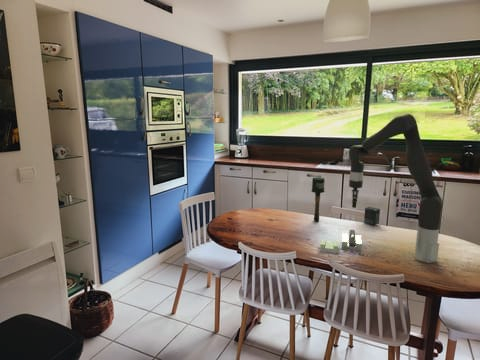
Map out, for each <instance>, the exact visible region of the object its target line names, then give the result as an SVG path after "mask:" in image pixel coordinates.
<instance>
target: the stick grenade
mask: <svg viewBox="0 0 480 360" xmlns="http://www.w3.org/2000/svg"><path fill="white" fill-rule="evenodd" d="M310 191H311V193H315V194H314V196H315V198H314V200H315V201H314V203H315V204H314V214H313V216H314V217H313V222H317V223H318V222H320V202H321V201H320V200H321V194H323V193H325V178H324V177H319V176H315V177H312V180H311V190H310Z"/></svg>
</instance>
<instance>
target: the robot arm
mask: <svg viewBox="0 0 480 360" xmlns="http://www.w3.org/2000/svg"><path fill="white" fill-rule="evenodd" d="M399 135H403V137H404V140H405V145H406V147H405V162H406V166H407V168H408V171H409V174H410V176H411V178H412V179H413V182H415V184H416V186H417V188H418V192H419V194H420V199H421V201H420V203H419V208H418V219H417V220H418V221H417V222H418V224H417V229H416V230H417V231H416V238H415V239H416V241H415V249H414V256H413V257H414V259H415V260H417V261H419V262H422V263H427V264H433V263H436V262H437V261H438V256H439V249H440V248H439V247H440V243H439V242H438V241H439V233H440V226H441V217H442V210H443V205H444V203H443V200H442V197H441V195H440V193H439V191H438V189H437V187H436V184H435V182H434V181H435V180H434V178H433V177H434V176H433V173H432V169H431V166H430V162H429V160H428V157H427V155H426V152H425V150H424V149H425V148H424V146H423V143H422V140H421V136H420V132H419V127H418V124H417V120H416V117H414V115H412V114H411V113H404V114H400V115H397V116H395V117H393V118H392V120H389V122H388V123H387V124H386V125H385V126H383V127H382V128H381V129H380V130H378V131H377V132H376V133H374V134H372V135H370V136H369V137H367V138H366V139H364V140H363V141H362V144H359V145H352V146H351V147H350V148H349V151H348V157H349V161H350V172H349V181H348V187H349V188H352V189H351V198H352V200H351V201H352V202H351V203H352V204H351V207H352V208H353V209H356V208H357V203H358V199H359V192H360V189H362V188H363V184H364V183H363V182H364V165H365V164H364V161H363V162H362V161H360V158H363V157H366V156H368V155H369V154H370V153H371V152H372V151H374V150H375V149H377V148H378V147H380V146H382V145H383V144H384V143H385V142H386V141H388V140H389V139H391V138H394V137H396V136H399Z"/></svg>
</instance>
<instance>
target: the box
mask: <svg viewBox="0 0 480 360" xmlns="http://www.w3.org/2000/svg"><path fill="white" fill-rule="evenodd" d="M380 215H381V209H380V208H378V207H377V208H376V207H373V206H366V207H365V208H364V217H363V218H364V219H363V223H364V224H367V225H371V226H378V225H379V224H380Z"/></svg>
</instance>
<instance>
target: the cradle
mask: <svg viewBox="0 0 480 360" xmlns="http://www.w3.org/2000/svg"><path fill="white" fill-rule="evenodd" d="M339 242H340V241H339V240H337V239H336V240H335V239H334V241H333V242H327V238H321V241H320V249H319V251H320V252H325V253H333V254H338V253H339V246H340V245H339Z"/></svg>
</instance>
